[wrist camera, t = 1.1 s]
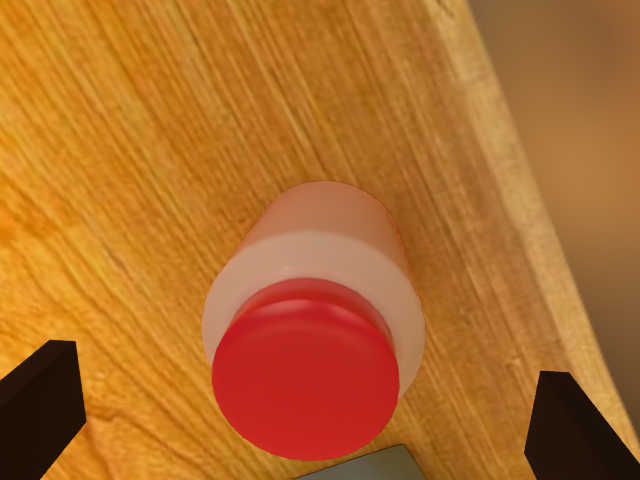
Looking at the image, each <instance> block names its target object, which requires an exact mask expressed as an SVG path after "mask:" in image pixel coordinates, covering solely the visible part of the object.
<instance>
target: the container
mask: <svg viewBox="0 0 640 480" xmlns="http://www.w3.org/2000/svg"><path fill="white" fill-rule="evenodd" d="M294 480H426V478H425V477H424V475H423V473H422V472H421V470H420V468H419V467H418V465H417V463H416V462H415V460H414V459H413V457H412V456H411V454H410V453H409V451H408V450H407V449H406V448H405V447H404V446H403V445H397V446H393V447H390V448H387V449H384V450H381V451H377V452H374V453H371V454H368V455H365V456H362V457H359V458H356V459H353V460H350V461H347V462H344V463H341V464H338V465H335V466H333V467H330V468H327V469H324V470H321V471H318V472H315V473H312V474H309V475H306V476H303V477H300V478H297V479H294Z"/></svg>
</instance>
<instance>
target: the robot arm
mask: <svg viewBox="0 0 640 480" xmlns="http://www.w3.org/2000/svg"><path fill="white" fill-rule="evenodd" d="M85 423H86V414H85V407H84V400H83V392H82V385H81V377H80V370H79V363H78V355H77V348H76V341H62V340H49V341H48V342H46V343H45V344H44V345H43V346H42V347H40V348H39V349H38V350H37V351H36V352H34V353H33V354H32V355H31V356H29V357H28V358H27V359H26V360H25V361H23V362H22V363H21V364H20V365H19V366H17V367H16V368H15V369H14V370H13V371H11V372H10V373H9V374H8V375H6V376H5V377H4V378H3V379H2V380H0V480H40V479H41V478H42V476H43V475H44V474H45V473H46V472H47V470H48V469H49V468H50V467H51V465H52V464H53V463H54V462H55V460H56V459H57V458H58V457H59V455H60V454H61V453H62V452H63V450H64V449H65V448H66V447H67V445H68V444H69V443H70V442H71V440H72V439H73V438H74V437H75V435H76V434H77V433H78V432H79V430H80V429H81V428H82V427H83V425H84V424H85ZM524 454H525V456H526V458H527V460H528V462H529V464H530V466H531V468H532V471H533V473H534V475H535V477H536V479H537V480H640V464H639V462H638V461H637V460H636V458H635V457H634V456H633V455H632V453H631V452H630V451H629V449H628V448H627V447H626V445H625V444H624V443H623V442H622V440H621V439H620V438H619V436H618V435H617V434H616V433H615V431H614V430H613V429H612V427H611V426H610V425H609V424H608V422H607V421H606V420H605V418H604V417H603V416H602V415H601V413H600V412H599V411H598V409H597V408H596V407H595V405H594V404H593V403H592V402H591V400H590V399H589V398H588V396H587V395H586V394H585V393H584V391H583V390H582V389H581V387H580V386H579V385H578V384H577V382H576V381H575V380H574V378H573V377H572V376H571V374H570V373H569V372H555V371H540V375H539V380H538V385H537V390H536V395H535V400H534V405H533V410H532V415H531V420H530V425H529V430H528V435H527V440H526V446H525V451H524Z"/></svg>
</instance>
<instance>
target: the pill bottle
mask: <svg viewBox="0 0 640 480" xmlns="http://www.w3.org/2000/svg"><path fill="white" fill-rule="evenodd" d="M201 337H202V342H203V347H204V352H205V356H206V359H207V361H208V363H209V366H210V368H211V370H212V385H213V390H214V395H215V398H216V401H217V403H218V405H219V408H220V410H221V412H222V413H223V415H224V416H225V418H226V419H227V421H228V422H229V424H230V425H231V426H232V427H233V428H234V429H235V430H236V431H237V432H238V433H239V434H240V435H241V436H242V437H243V438H245V439H246V440H248V441H249V442H251V443H252V444H253V445H255V446H256V447H258V448H260V449H263V450H265V451H267V452H269V453H271V454H274V455H277V456H281V457H284V458H288V459H294V460H303V461H318V460H328V459H332V458H337V457H341V456H344V455H346V454H349V453H352V452H354V451H356V450H358V449H360V448H361V447H363V446H365V445H366V444H368V443H369V442H371V441H372V440H373V439H374V438H375V437H376V436H377V435H378V434H379V433H380V432H381V431H382V430H383V429H384V427H385V426H386V425H387V423H388V422H389V420H390V419H391V417H392V415H393V412H394V410H395V407H396V405H397V402H398V401H399V400H400V399H401V398H402V397H403V396H404V395H405V393H406V392H407V390H408V389H409V387H410V386H411V385H412V383H413V382H414V380H415V378H416V376H417V373H418V371H419V369H420V366H421V364H422V361H423V356H424V350H425V345H426V324H425V317H424V313H423V309H422V306H421V302H420V298H419V295H418V292H417V289H416V285H415V282H414V279H413V276H412V273H411V270H410V266H409V263H408V260H407V257H406V254H405V250H404V247H403V244H402V241H401V238H400V234H399V231H398V229H397V227H396V225H395V223H394V221H393V219H392V217H391V215H390V214H389V213H388V212H387V210H386V209H385V208H384V207H383V205H382V204H381V203H380V202H378V201H377V200H376V199H375V198H373V197H372V196H371V195H370V194H368V193H366V192H364V191H363V190H361V189H359V188H357V187H355V186H351V185H348V184H345V183H341V182H333V181H316V182H308V183H305V184H301V185H298V186H295V187H293V188H291V189H289V190H287V191H285V192H283V193H282V194H280V195H279V196H278V197H277V198H275V199H274V200H273V201H272V202H271V203H269V205H268V206H267V207H266V208H265V210H264V211H263V212H262V213H261V215H260V216H259V217H258V219H257V220H256V222H255V223H254V224H253V226H252V227H251V228H250V230H249V231H248V233H247V234H246V235H245V237H244V238H243V240H242V241H241V242H240V244H239V245H238V247H237V248H236V249H235V251H234V252H233V254H232V255H231V256H230V258H229V259H228V261H227V262H226V263H225V265H224V266H223V268H222V269H221V270H220V272H219V273H218V275H217V276H216V278H215V280H214V282H213V284H212V286H211V288H210V290H209V292H208V294H207V296H206V300H205V304H204V308H203V313H202V334H201Z"/></svg>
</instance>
